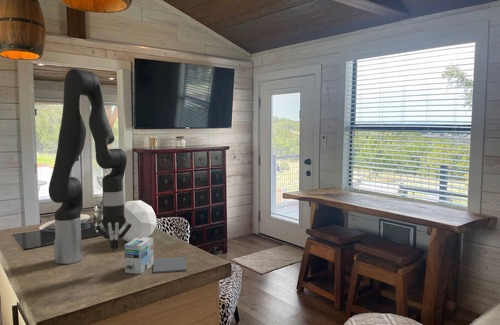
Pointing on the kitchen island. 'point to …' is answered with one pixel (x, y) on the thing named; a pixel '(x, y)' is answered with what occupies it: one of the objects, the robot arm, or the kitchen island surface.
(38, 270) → the kitchen island surface
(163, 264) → the mat
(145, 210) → the ball
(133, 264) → the light bulb box
